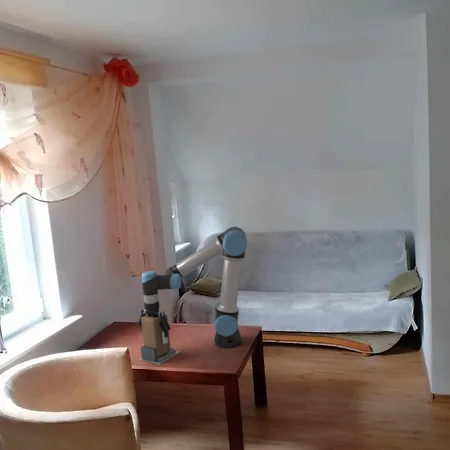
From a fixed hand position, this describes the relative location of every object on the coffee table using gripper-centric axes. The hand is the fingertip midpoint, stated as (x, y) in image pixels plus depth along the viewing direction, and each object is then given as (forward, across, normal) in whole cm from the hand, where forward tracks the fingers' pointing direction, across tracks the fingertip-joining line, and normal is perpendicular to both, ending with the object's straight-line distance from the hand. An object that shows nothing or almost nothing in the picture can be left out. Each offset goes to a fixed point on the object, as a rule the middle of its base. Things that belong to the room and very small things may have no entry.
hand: (155, 341), depth 281 cm
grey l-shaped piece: (+9, 0, -2) cm, 9 cm away
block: (+7, 0, -1) cm, 7 cm away
